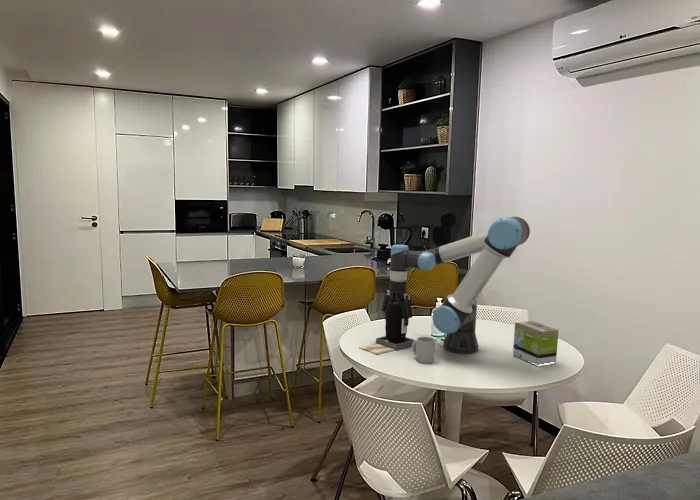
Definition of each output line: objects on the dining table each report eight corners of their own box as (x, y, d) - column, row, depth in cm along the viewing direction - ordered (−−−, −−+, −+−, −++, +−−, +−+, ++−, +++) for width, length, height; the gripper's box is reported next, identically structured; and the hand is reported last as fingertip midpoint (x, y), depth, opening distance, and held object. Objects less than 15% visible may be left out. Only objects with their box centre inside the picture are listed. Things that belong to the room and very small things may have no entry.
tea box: (511, 355, 218) (514, 321, 216) (530, 353, 222) (532, 320, 220) (537, 367, 204) (540, 331, 203) (556, 364, 208) (559, 329, 207)
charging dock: (414, 345, 228) (415, 339, 228) (396, 350, 220) (396, 343, 220) (394, 339, 237) (395, 332, 237) (375, 343, 229) (376, 337, 228)
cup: (427, 365, 202) (429, 343, 201) (406, 359, 209) (407, 337, 208) (437, 361, 208) (438, 339, 207) (416, 355, 214) (417, 334, 213)
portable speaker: (408, 346, 226) (410, 303, 223) (388, 347, 223) (390, 303, 221) (401, 341, 234) (403, 298, 232) (382, 342, 231) (384, 299, 229)
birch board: (393, 350, 220) (393, 349, 220) (377, 354, 213) (377, 353, 213) (375, 344, 228) (375, 343, 228) (359, 348, 221) (359, 347, 221)
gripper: (422, 283, 220) (420, 334, 222) (386, 275, 236) (384, 324, 238) (411, 284, 215) (408, 337, 217) (374, 277, 231) (372, 326, 233)
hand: (396, 330), depth 228 cm, fingers closed on portable speaker, 9 cm apart
